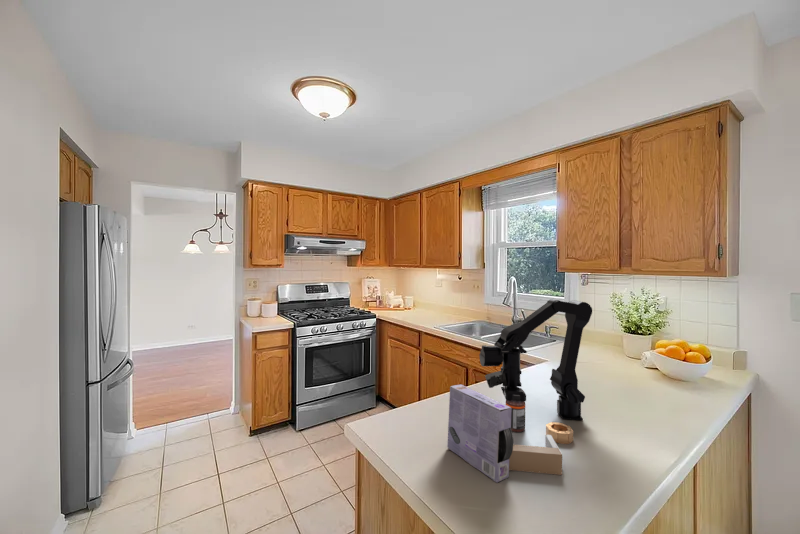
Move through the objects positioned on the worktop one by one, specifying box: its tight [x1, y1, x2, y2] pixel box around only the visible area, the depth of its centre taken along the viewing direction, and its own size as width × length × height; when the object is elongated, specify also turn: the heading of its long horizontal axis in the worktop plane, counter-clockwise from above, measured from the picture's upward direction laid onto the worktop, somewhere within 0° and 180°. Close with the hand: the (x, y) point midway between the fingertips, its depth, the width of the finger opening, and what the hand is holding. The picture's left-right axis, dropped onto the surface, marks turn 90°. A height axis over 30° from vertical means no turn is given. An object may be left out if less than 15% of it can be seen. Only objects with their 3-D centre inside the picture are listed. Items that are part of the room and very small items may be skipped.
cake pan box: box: [446, 384, 514, 484], centre depth 88 cm, size 19×5×18 cm, turn 33°
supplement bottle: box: [505, 395, 526, 433], centre depth 107 cm, size 6×6×11 cm
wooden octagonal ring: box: [545, 421, 574, 445], centre depth 101 cm, size 7×7×3 cm
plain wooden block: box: [509, 434, 563, 476], centre depth 90 cm, size 16×13×5 cm
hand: (511, 411), depth 114 cm, fingers closed
